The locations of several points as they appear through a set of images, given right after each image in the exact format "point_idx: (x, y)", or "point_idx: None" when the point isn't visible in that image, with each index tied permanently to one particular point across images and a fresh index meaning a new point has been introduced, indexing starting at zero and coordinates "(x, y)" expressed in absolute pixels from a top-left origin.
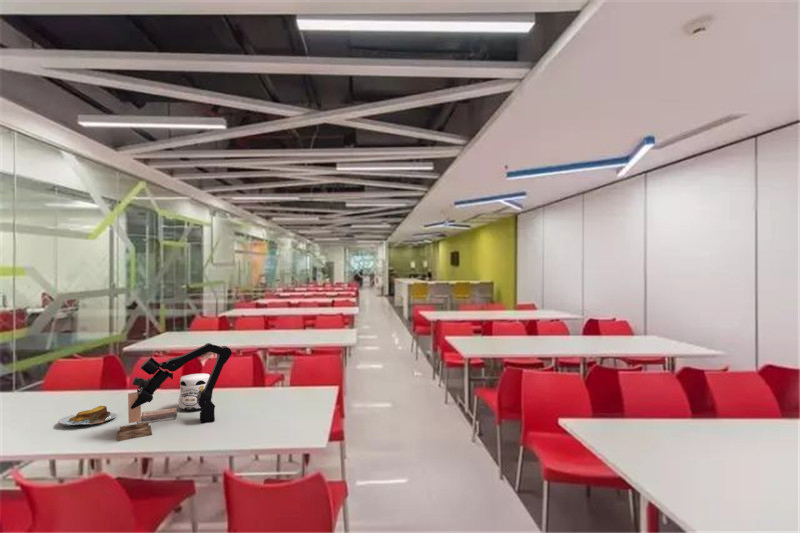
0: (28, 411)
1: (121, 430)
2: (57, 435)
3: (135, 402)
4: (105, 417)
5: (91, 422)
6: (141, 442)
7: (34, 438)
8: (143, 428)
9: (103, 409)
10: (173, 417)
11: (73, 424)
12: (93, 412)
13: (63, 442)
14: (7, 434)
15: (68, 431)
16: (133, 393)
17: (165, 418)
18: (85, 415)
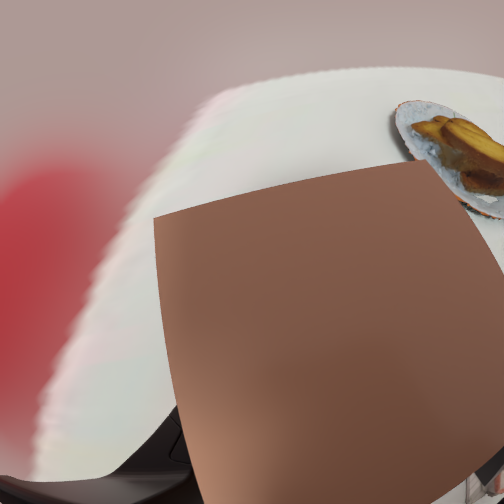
0: (470, 84)
1: None
2: (344, 120)
3: (176, 422)
4: (487, 190)
5: (444, 163)
6: (128, 448)
7: (326, 94)
8: None
9: (494, 162)
10: (481, 487)
11: (399, 125)
12: (462, 141)
13: (268, 146)
14: (359, 68)
15: (378, 132)
16: (422, 286)
17: None
18: (443, 130)
